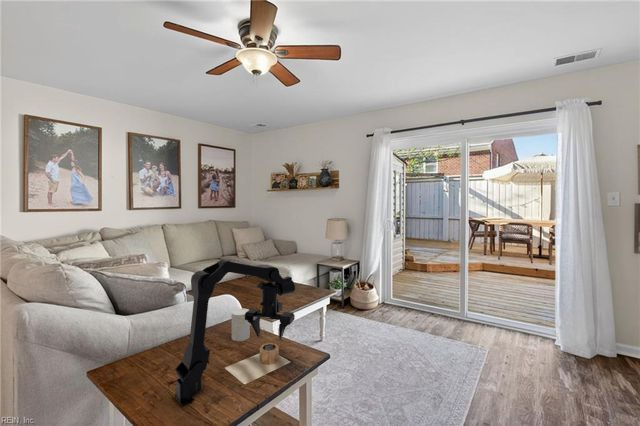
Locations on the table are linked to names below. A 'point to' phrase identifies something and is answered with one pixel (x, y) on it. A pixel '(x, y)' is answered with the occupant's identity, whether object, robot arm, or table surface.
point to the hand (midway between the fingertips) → (269, 338)
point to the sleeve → (269, 354)
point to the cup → (240, 325)
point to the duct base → (254, 367)
